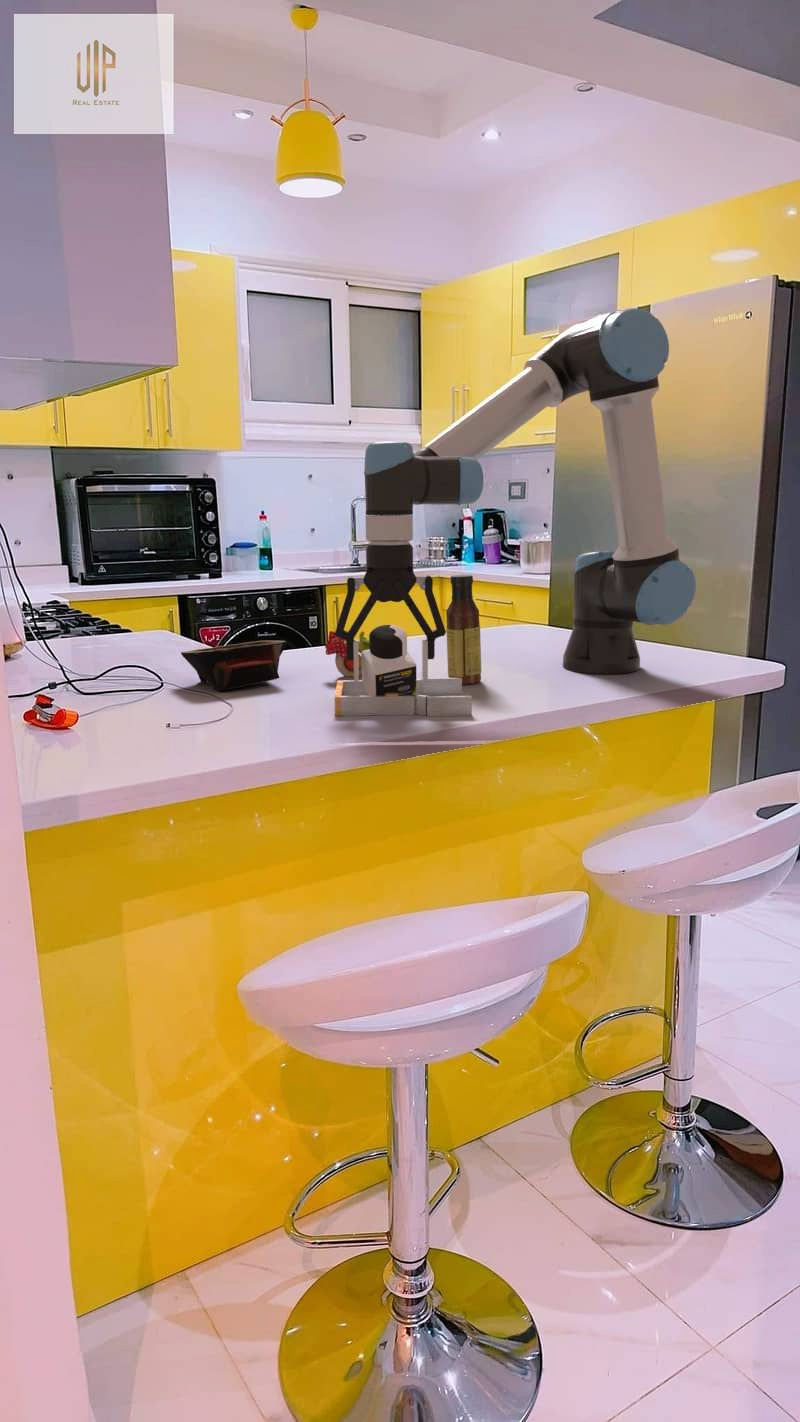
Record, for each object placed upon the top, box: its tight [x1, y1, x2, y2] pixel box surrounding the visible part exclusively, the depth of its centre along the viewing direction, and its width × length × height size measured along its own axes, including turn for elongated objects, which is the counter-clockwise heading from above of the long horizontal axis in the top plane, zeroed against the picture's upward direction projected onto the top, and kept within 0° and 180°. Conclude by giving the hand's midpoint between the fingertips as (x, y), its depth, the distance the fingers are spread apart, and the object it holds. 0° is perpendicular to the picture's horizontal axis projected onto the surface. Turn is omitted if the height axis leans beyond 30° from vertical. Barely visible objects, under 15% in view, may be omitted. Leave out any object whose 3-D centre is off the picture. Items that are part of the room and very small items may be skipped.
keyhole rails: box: [334, 677, 473, 717], centre depth 152 cm, size 22×16×3 cm
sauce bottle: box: [445, 574, 482, 686], centre depth 169 cm, size 6×6×20 cm
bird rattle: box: [324, 630, 370, 678], centre depth 176 cm, size 6×11×9 cm, turn 126°
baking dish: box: [180, 640, 288, 692], centre depth 169 cm, size 14×18×10 cm
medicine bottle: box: [360, 624, 417, 695], centre depth 150 cm, size 7×7×12 cm
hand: (390, 679), depth 151 cm, fingers open, 11 cm apart
